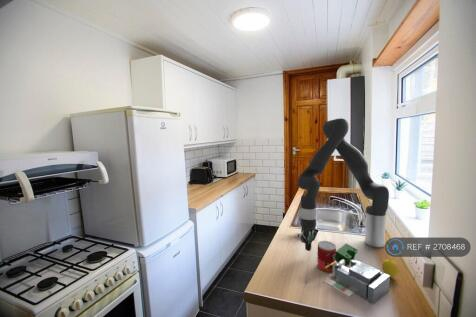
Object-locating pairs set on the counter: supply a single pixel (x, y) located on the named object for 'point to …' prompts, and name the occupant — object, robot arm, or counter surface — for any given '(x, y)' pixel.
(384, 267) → the lemon
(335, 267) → the plunger
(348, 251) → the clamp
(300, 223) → the robot arm
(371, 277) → the box
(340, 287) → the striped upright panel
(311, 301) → the counter surface
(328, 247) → the canned food
